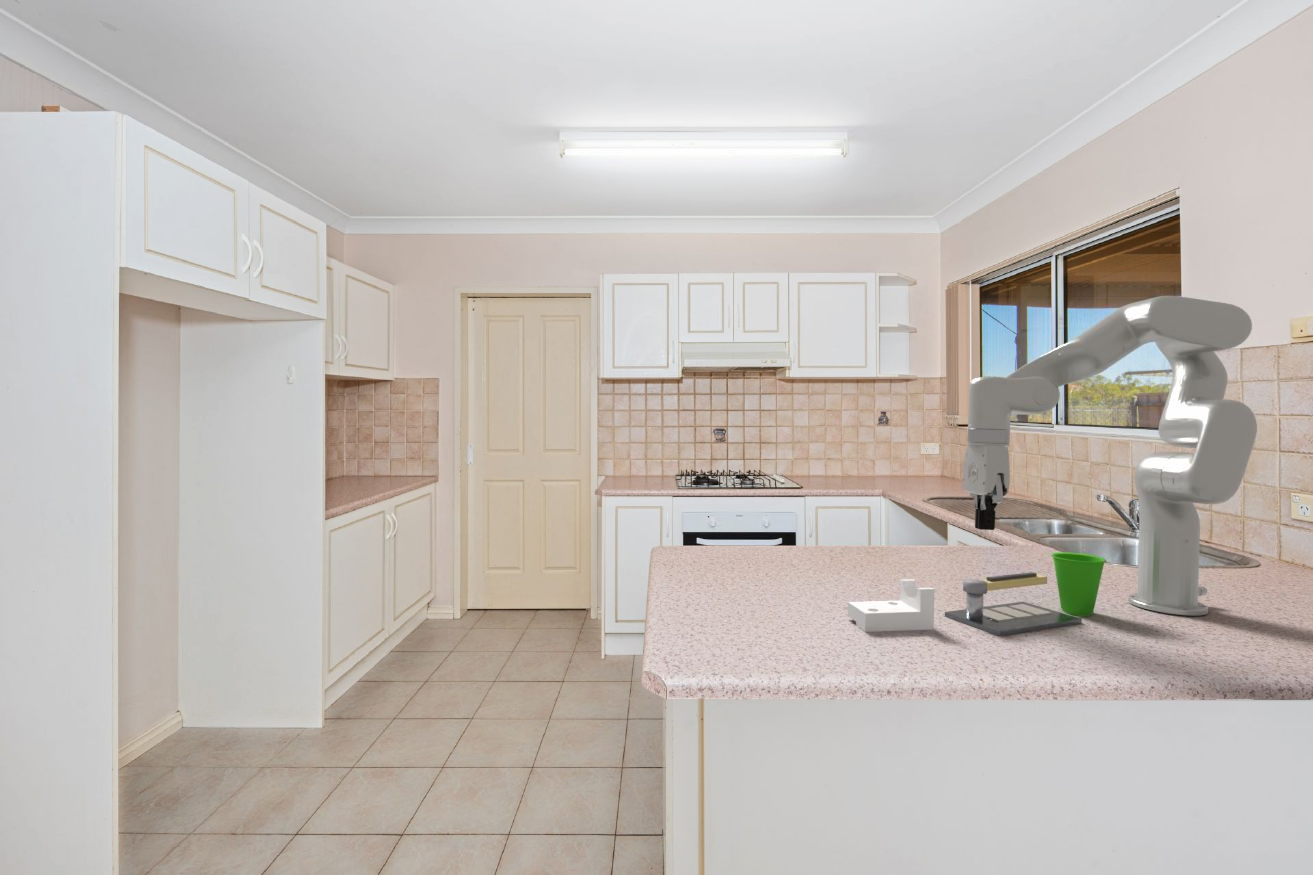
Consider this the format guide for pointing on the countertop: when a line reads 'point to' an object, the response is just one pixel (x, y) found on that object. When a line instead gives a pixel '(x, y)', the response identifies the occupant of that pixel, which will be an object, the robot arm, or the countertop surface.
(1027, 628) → the grey base plate
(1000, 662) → the countertop surface
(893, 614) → the bracket
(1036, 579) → the swing arm
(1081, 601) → the cup
